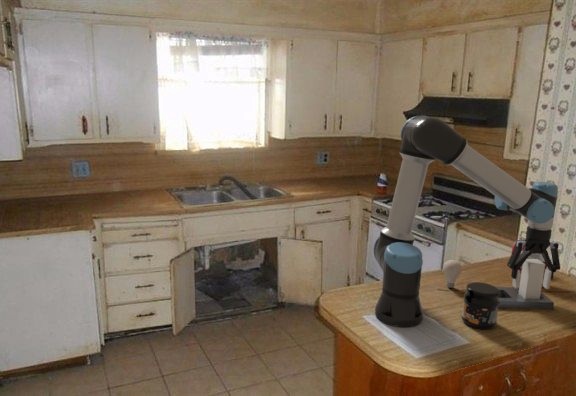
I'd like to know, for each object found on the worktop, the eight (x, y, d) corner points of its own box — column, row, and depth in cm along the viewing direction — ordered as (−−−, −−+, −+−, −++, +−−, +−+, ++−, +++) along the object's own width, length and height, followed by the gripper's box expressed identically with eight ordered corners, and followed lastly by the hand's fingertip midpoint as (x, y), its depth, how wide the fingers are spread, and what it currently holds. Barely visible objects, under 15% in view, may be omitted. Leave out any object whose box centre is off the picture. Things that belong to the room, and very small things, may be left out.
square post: (524, 303, 161) (530, 263, 158) (517, 297, 166) (523, 258, 163) (538, 304, 161) (545, 264, 158) (531, 298, 166) (537, 259, 163)
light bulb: (463, 288, 173) (466, 261, 170) (452, 292, 169) (455, 264, 166) (448, 282, 178) (451, 256, 175) (437, 286, 174) (440, 259, 172)
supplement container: (453, 317, 150) (457, 283, 147) (479, 312, 154) (483, 279, 151) (477, 333, 140) (482, 297, 138) (503, 327, 144) (508, 292, 141)
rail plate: (489, 307, 158) (489, 300, 157) (475, 292, 169) (476, 286, 169) (553, 309, 158) (554, 302, 157) (535, 294, 169) (536, 287, 169)
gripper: (566, 224, 161) (556, 283, 166) (501, 223, 161) (493, 282, 166) (579, 231, 154) (568, 292, 159) (511, 229, 154) (502, 290, 159)
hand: (530, 287), depth 162 cm, fingers open, 10 cm apart
